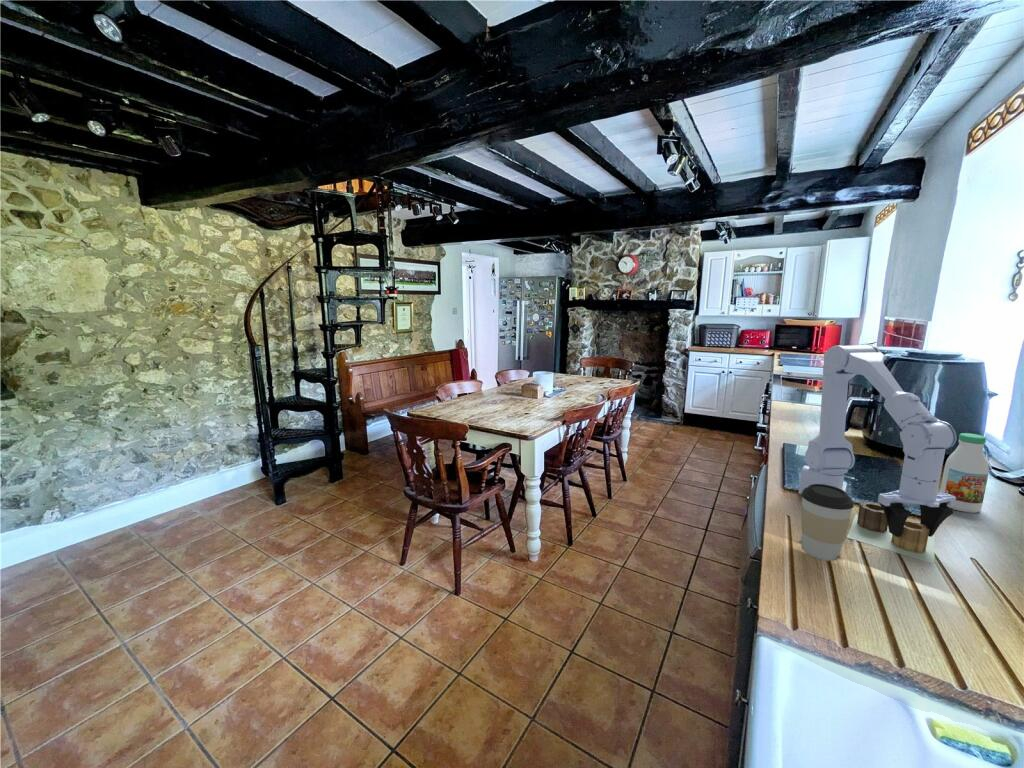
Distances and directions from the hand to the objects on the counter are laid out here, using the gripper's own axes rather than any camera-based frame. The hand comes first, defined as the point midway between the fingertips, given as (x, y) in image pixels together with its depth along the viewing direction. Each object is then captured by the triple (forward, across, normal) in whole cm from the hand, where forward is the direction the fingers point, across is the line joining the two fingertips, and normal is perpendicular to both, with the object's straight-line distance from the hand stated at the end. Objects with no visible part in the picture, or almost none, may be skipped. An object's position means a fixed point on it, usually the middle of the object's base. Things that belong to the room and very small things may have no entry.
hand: (910, 534), depth 88 cm
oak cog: (+3, 0, 0) cm, 3 cm away
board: (+4, 0, +4) cm, 6 cm away
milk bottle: (+4, +32, +20) cm, 38 cm away
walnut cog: (+3, -1, +8) cm, 9 cm away
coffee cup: (+4, -19, 0) cm, 20 cm away
